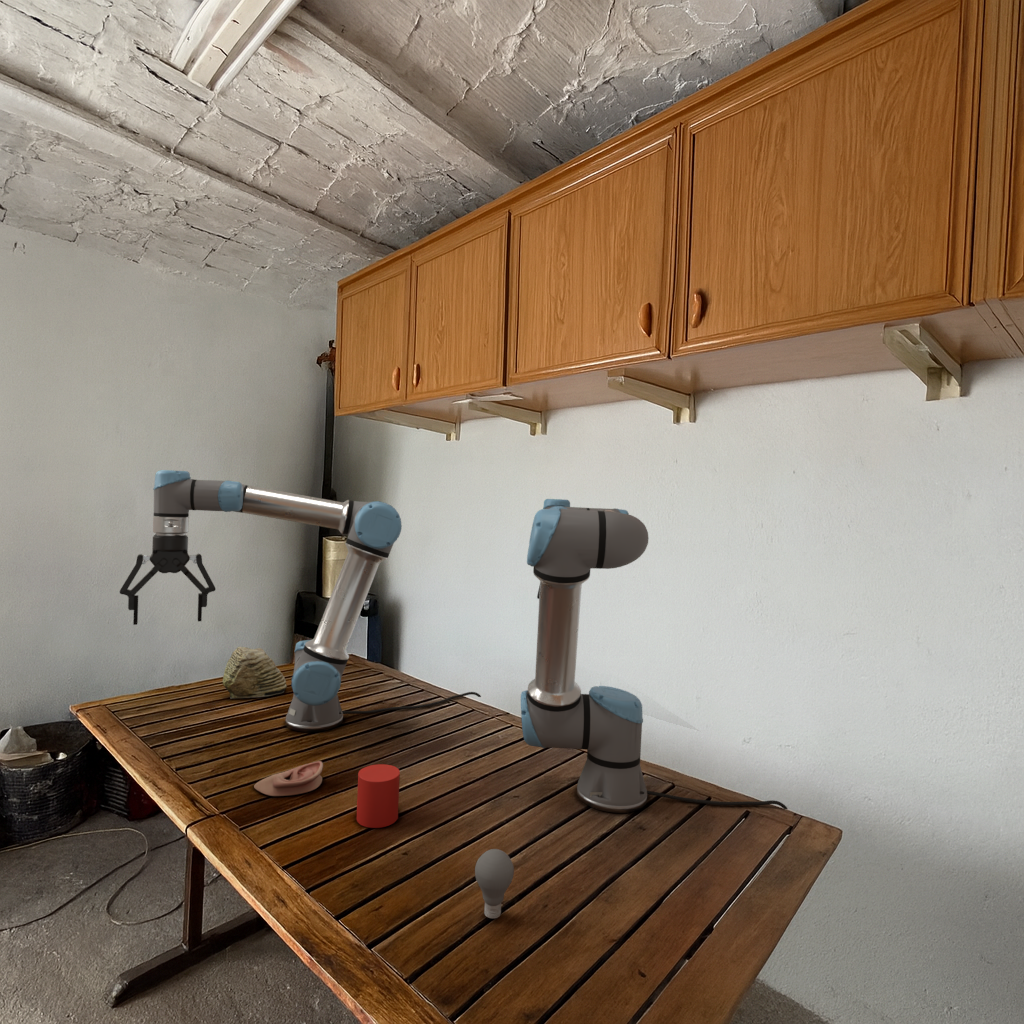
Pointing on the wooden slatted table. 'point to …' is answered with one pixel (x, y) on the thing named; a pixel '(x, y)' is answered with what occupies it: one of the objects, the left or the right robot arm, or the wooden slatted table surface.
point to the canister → (378, 795)
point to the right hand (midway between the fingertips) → (551, 630)
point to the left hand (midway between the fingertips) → (168, 622)
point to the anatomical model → (292, 781)
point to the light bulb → (494, 879)
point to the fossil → (252, 674)
